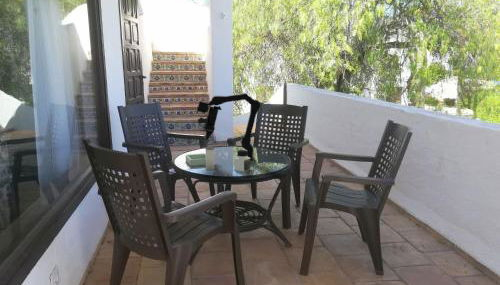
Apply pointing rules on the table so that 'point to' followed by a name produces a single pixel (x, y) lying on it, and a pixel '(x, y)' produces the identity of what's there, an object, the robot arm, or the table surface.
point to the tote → (196, 160)
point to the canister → (209, 158)
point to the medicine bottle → (242, 161)
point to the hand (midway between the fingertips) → (206, 138)
